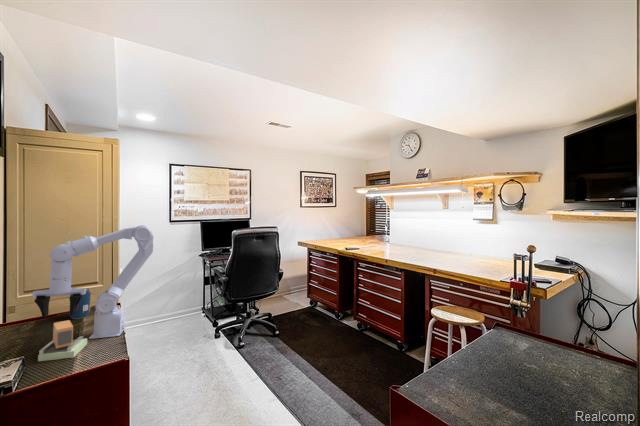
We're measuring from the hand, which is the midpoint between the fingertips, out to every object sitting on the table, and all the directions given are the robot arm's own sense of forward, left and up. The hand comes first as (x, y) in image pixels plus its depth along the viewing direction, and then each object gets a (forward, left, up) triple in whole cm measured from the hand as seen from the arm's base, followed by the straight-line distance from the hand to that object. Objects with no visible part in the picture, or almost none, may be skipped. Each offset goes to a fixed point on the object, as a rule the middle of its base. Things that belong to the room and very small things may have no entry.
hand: (59, 315), depth 101 cm
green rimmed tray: (-6, +10, -9) cm, 15 cm away
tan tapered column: (-5, +9, -6) cm, 12 cm away
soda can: (+4, -27, -10) cm, 29 cm away
